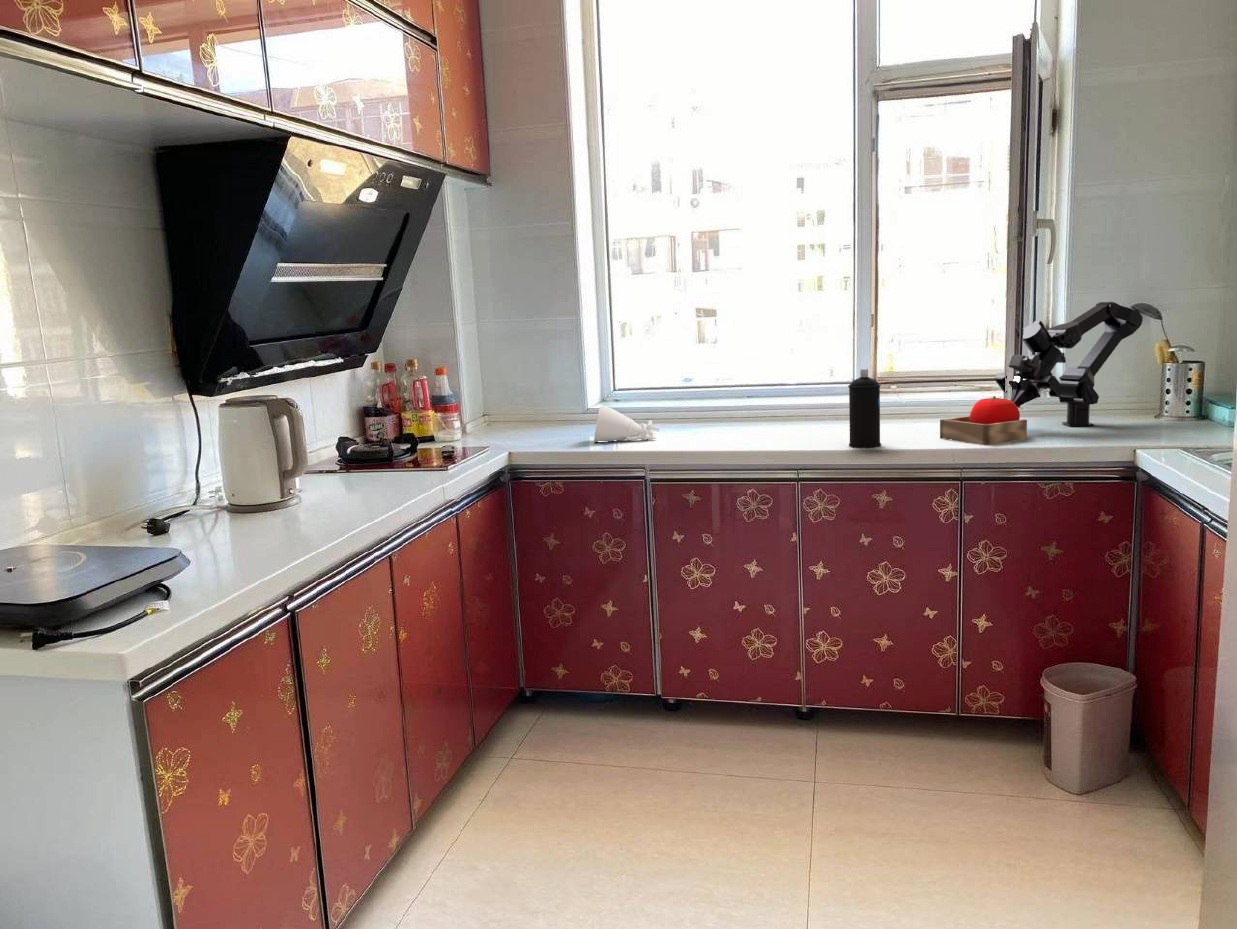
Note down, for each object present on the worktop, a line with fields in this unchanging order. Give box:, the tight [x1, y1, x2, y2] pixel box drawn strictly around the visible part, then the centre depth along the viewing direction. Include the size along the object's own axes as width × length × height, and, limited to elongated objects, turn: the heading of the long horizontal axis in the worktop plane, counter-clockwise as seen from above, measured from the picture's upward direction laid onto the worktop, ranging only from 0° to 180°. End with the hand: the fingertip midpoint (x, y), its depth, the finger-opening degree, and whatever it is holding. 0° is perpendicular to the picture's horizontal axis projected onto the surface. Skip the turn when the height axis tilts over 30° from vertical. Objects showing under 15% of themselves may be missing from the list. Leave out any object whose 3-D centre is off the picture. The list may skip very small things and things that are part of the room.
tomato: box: [969, 396, 1021, 424], centre depth 255 cm, size 11×12×10 cm
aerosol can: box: [847, 368, 882, 449], centre depth 251 cm, size 8×8×20 cm
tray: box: [939, 415, 1028, 446], centre depth 253 cm, size 14×16×5 cm
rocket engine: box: [593, 404, 660, 443], centre depth 282 cm, size 12×12×18 cm
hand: (1010, 408), depth 257 cm, fingers closed, pressing on tomato
